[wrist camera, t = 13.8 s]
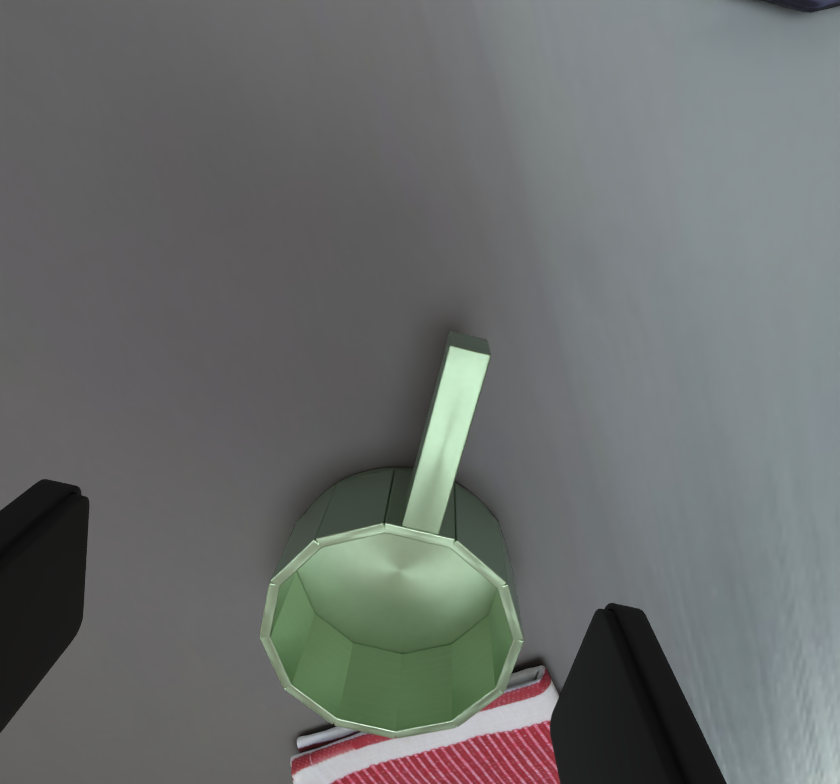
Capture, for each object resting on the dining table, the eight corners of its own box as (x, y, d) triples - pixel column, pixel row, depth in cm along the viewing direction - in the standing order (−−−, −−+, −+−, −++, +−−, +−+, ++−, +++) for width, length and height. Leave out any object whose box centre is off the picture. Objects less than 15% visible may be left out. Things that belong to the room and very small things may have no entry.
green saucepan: (475, 669, 34) (480, 758, 29) (278, 624, 34) (246, 706, 28) (586, 348, 28) (619, 386, 22) (344, 288, 27) (319, 313, 22)
